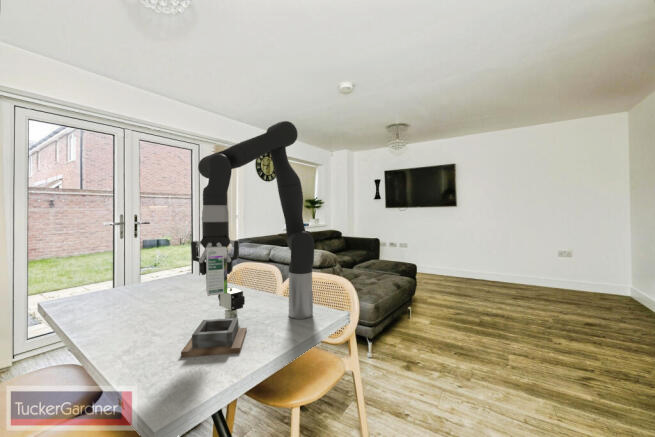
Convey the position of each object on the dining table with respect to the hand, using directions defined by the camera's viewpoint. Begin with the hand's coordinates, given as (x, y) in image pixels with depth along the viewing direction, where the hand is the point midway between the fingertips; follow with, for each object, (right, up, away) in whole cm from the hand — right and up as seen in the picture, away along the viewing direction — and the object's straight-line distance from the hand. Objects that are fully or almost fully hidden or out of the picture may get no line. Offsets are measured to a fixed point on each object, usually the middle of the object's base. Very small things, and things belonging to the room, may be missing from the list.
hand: (216, 273), depth 85 cm
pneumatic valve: (-2, -21, +20) cm, 29 cm away
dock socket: (0, -22, 0) cm, 22 cm away
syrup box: (0, -6, 0) cm, 6 cm away
